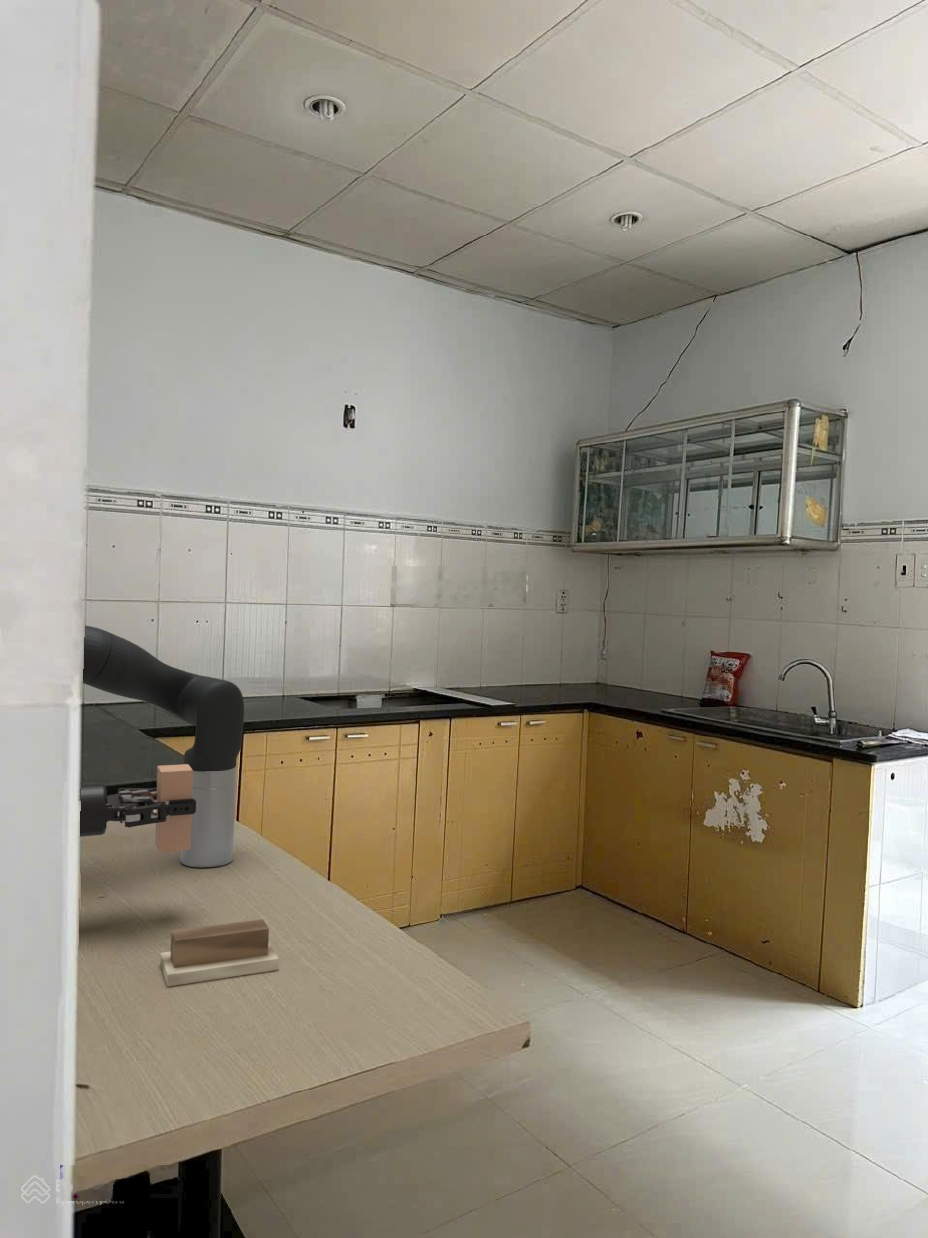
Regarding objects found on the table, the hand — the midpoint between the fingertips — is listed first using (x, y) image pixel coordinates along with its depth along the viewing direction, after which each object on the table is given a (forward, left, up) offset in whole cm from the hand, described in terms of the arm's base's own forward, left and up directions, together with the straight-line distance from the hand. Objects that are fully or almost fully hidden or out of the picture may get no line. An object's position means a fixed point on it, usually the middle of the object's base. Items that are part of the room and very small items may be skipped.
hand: (192, 801), depth 134 cm
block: (0, -3, -7) cm, 7 cm away
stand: (+21, -3, -17) cm, 27 cm away
